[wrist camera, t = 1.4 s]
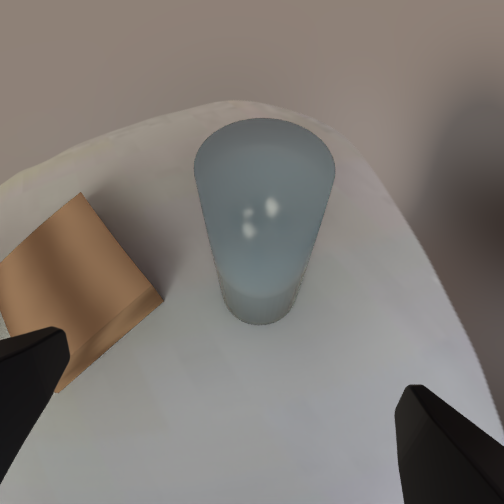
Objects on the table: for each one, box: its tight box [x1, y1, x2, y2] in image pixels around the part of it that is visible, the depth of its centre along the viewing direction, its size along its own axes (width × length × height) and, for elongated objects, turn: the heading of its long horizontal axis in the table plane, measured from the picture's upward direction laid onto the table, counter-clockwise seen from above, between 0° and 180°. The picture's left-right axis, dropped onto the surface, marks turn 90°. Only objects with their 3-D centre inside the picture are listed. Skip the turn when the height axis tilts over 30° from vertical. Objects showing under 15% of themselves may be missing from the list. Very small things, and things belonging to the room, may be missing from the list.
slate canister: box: [194, 118, 335, 325], centre depth 17 cm, size 5×5×12 cm
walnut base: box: [0, 192, 164, 393], centre depth 21 cm, size 11×11×3 cm
